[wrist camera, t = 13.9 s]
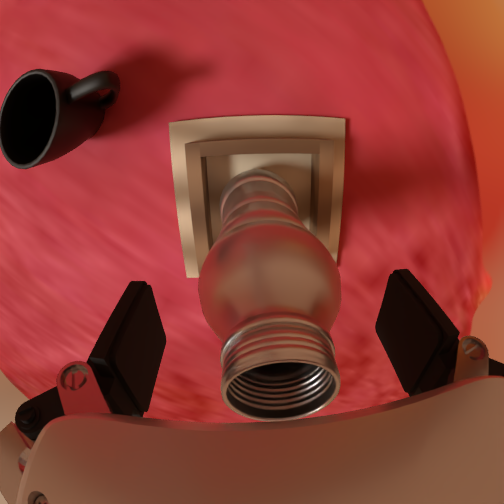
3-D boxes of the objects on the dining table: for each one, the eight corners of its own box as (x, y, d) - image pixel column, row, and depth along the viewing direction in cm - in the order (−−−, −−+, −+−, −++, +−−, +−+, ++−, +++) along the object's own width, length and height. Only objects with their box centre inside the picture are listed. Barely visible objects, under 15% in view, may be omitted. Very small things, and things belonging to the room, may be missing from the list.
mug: (155, 131, 23) (109, 136, 14) (62, 160, 23) (4, 181, 15) (146, 55, 19) (100, 29, 11) (53, 94, 20) (-5, 95, 11)
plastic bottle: (260, 150, 23) (311, 255, 5) (306, 205, 25) (409, 383, 7) (207, 195, 25) (126, 379, 7) (254, 245, 27) (266, 448, 9)
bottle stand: (171, 122, 22) (158, 122, 19) (341, 118, 22) (357, 118, 19) (188, 272, 30) (181, 293, 26) (332, 267, 30) (343, 287, 26)
